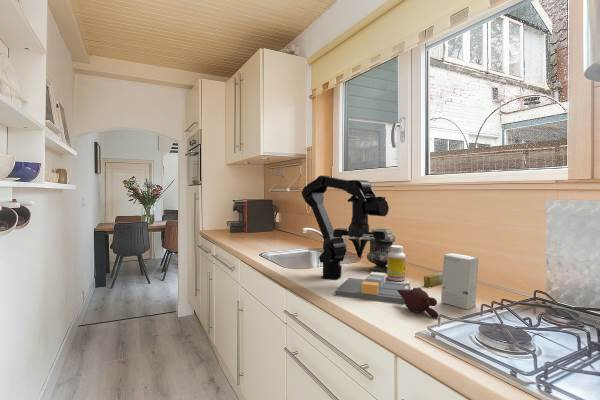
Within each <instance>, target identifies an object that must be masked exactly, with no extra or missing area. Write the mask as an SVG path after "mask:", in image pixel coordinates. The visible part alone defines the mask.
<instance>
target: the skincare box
mask: <svg viewBox="0 0 600 400" xmlns="http://www.w3.org/2000/svg"><path fill="white" fill-rule="evenodd" d="M442 266H443V267H442V272H443V280H442V285H441V298H440V299H441V300H440V301H441V303H442V304H446V305H450V306H454V307H457V308H461V309H464V310H469V309H472V308H474V307H476V306H477V288H478V287H477V286H478V276H479V275H478V274H479V257H476V256H472V255H466V254H460V253H447V254H443V265H442Z"/></svg>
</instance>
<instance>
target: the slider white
mask: <svg viewBox="0 0 600 400" xmlns="http://www.w3.org/2000/svg"><path fill="white" fill-rule="evenodd" d="M386 274H387V273H378V272H372V271H370V272H369V276H370V277H380V278H383V280H382V284H384V283H385V282H386V279H387V276H386Z"/></svg>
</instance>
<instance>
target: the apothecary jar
mask: <svg viewBox="0 0 600 400" xmlns="http://www.w3.org/2000/svg"><path fill="white" fill-rule="evenodd" d="M375 230H385V231H386V232H387V239H385V240H376V239H375V238H374V237H370V238H371V240H370V241H369V252H368V253H367V254H366V259H367V261H368V262H370V263H371V264H374V265H373V266H371V267H370V268H368V270H369V271H370V272H378V273H386V274H388V253H389V252H391V249H390V246H393V243H394V242H395V241H396V236H395V234H393V232H392V231H393V230H392V229H391V228H385V227H384V228H383V227H373V228H371V231H370V232H374V231H375Z"/></svg>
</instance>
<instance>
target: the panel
mask: <svg viewBox="0 0 600 400" xmlns="http://www.w3.org/2000/svg"><path fill="white" fill-rule="evenodd" d="M363 281H366V278H365V279H362V278H353V277H348V278H347V279H346V280H345V281H344V282H343V283H342V284H340V286H338V287H337V289H335V290H334V296H339V297H346V298H354V299H355V298H356V299H362V300H369V301H378V302H387V303H393V304H394V303H395V304H404V305H406V304H405V302H404V299H403V298H402V296H401V295H400V294H399V293H398V291H397V290H411V281H410V280H407V281H406V283H402V282H395V281H394V282H393V281H385V283H384V284H382V288H381V289H379V293H378V295H372V294H364V293H361V284H362V282H363Z"/></svg>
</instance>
